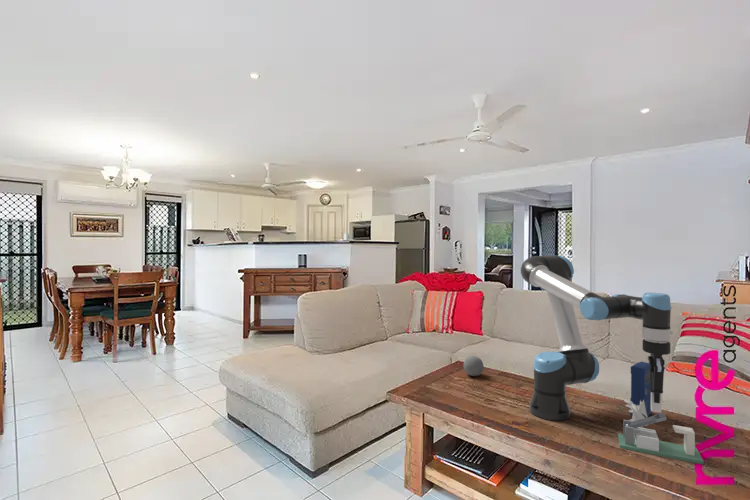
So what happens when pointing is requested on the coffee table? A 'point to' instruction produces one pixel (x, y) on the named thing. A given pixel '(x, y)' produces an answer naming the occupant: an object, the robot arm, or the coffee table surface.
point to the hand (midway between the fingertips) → (655, 411)
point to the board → (653, 444)
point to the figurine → (636, 410)
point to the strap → (646, 421)
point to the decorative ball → (473, 366)
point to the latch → (687, 438)
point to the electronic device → (641, 386)
